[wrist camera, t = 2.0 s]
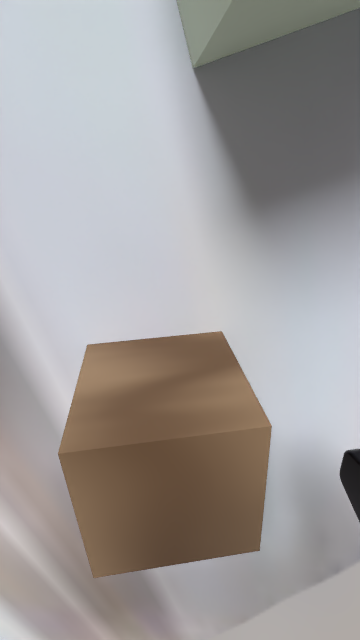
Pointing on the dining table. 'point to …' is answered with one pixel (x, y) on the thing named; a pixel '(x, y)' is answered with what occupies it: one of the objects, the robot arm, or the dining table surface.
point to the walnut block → (165, 453)
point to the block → (248, 23)
